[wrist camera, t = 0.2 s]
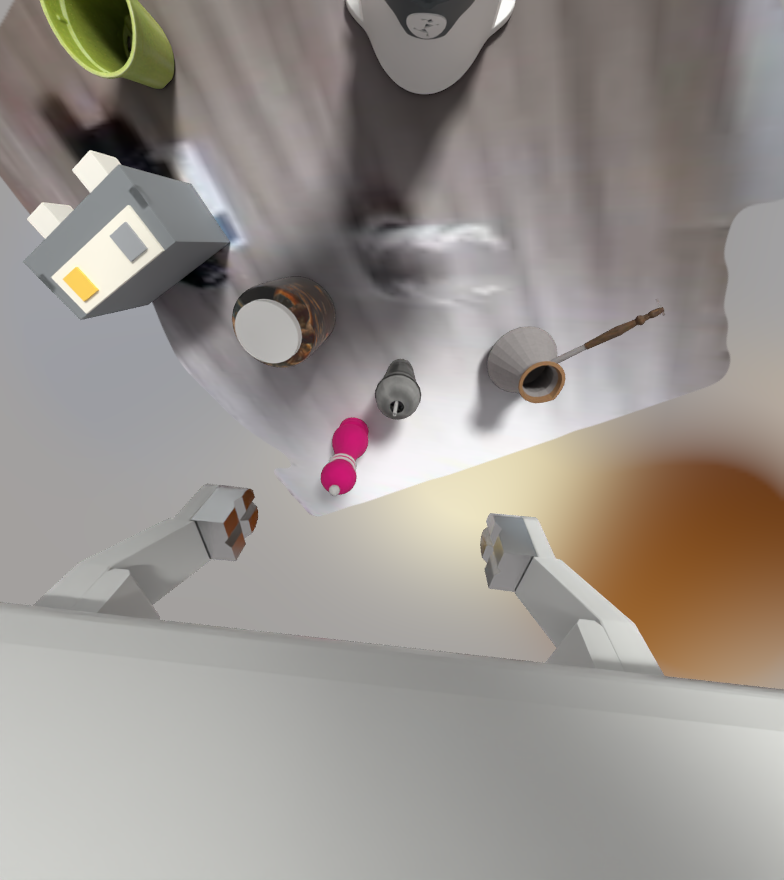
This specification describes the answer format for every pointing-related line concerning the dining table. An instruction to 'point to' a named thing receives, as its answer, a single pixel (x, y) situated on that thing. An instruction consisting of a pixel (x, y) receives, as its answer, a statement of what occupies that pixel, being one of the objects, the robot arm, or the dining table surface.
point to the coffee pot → (541, 359)
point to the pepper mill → (345, 456)
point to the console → (126, 243)
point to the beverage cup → (398, 391)
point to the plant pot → (112, 39)
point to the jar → (283, 320)
